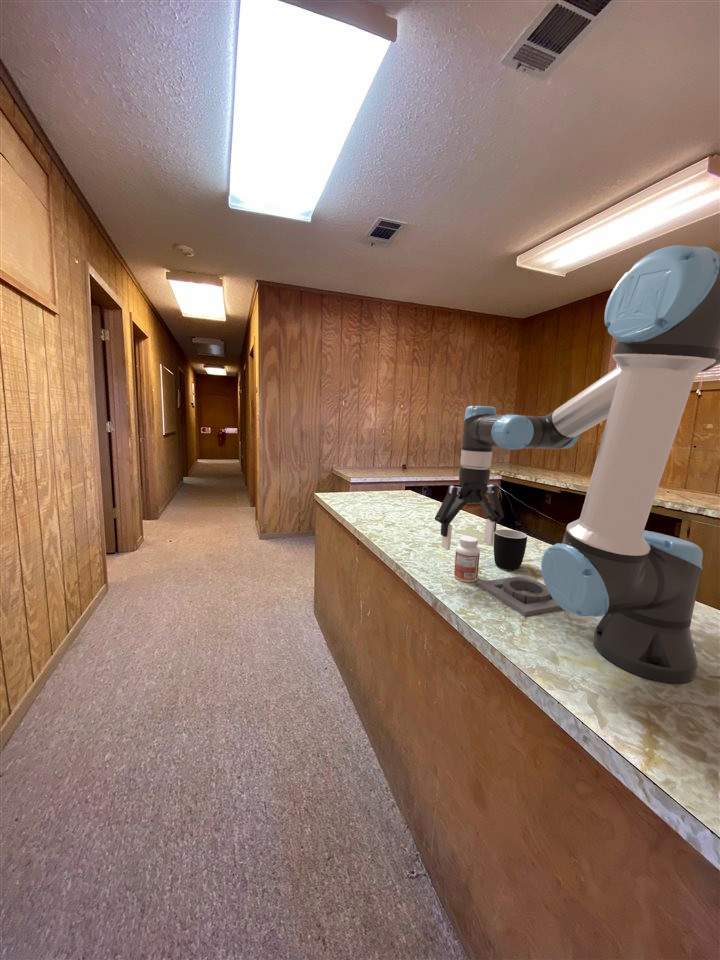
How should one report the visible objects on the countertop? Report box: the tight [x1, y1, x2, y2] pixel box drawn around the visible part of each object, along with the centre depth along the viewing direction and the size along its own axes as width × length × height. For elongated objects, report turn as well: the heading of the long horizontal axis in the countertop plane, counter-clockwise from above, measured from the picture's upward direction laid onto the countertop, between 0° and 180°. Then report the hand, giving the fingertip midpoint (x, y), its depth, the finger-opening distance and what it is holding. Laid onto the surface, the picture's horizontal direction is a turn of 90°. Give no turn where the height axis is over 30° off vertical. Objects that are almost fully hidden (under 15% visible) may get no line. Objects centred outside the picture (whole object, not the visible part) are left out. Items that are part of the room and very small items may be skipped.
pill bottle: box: [453, 535, 481, 583], centre depth 101 cm, size 6×6×11 cm
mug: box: [493, 528, 528, 571], centre depth 112 cm, size 12×9×10 cm
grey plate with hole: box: [477, 574, 564, 617], centre depth 93 cm, size 16×16×2 cm
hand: (467, 545), depth 101 cm, fingers open, 13 cm apart
